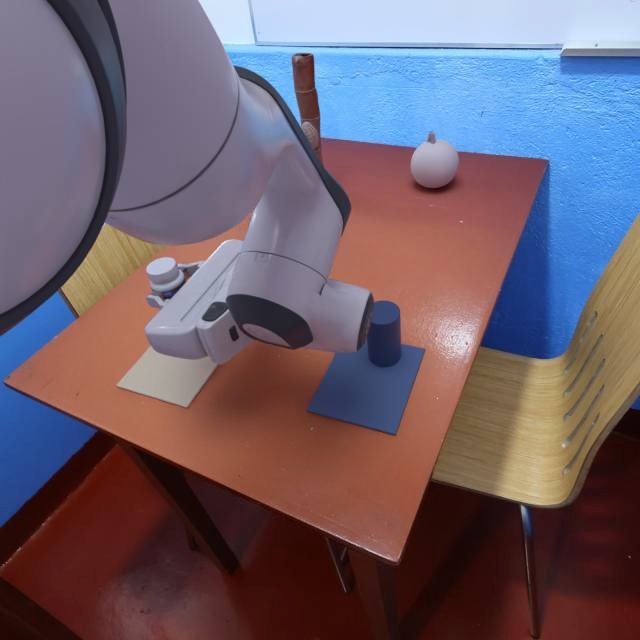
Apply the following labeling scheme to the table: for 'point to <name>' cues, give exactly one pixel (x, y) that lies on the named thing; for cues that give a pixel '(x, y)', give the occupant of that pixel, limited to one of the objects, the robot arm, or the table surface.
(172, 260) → the pill bottle
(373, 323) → the blue canister
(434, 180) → the ornament
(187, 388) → the cream mat
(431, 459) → the table surface
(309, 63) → the vase
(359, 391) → the blue mat
